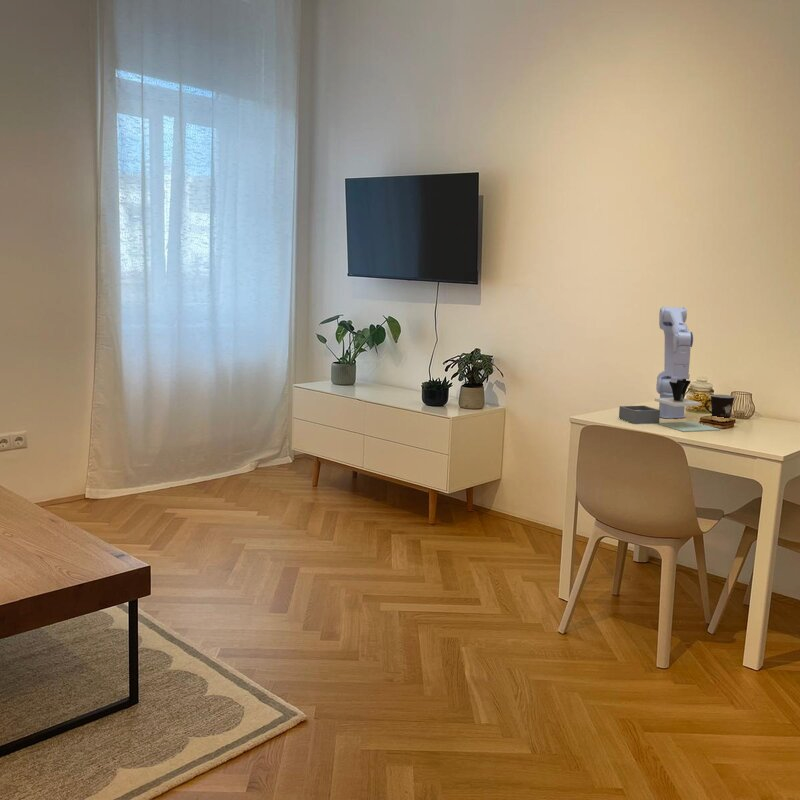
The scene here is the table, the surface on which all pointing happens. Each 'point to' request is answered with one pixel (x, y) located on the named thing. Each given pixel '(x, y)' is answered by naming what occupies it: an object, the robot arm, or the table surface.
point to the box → (639, 414)
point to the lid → (678, 402)
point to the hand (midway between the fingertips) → (678, 399)
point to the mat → (689, 426)
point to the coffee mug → (721, 405)
